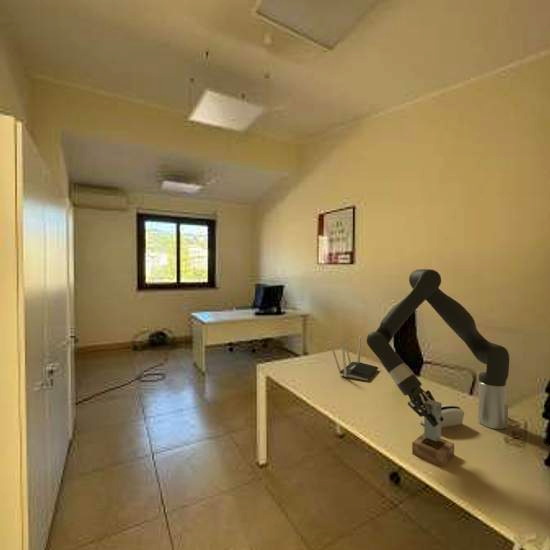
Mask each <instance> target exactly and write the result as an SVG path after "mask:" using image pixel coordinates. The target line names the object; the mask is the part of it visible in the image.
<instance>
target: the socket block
mask: <svg viewBox="0 0 550 550" xmlns="http://www.w3.org/2000/svg"><path fill="white" fill-rule="evenodd" d="M411 443H412V445H411V448H412V449H411V451H412V452H411V453H412V454H411V455H415V456H417V457H419V458H422V459H424V460H425V461H427V462H430V463H432V464H435V465H436V466H440V467H442V468H443V467H444V466H445V465H446V464H447V463H448V462H449V461H450V460H451V459H452V458H453V457H454V456H455V443H454V442H451V441H449V440H446V439H443V438H442V437H441V438H440V439H438V440H437V441H434V440H431V439H429V438H426V437H424V432H423V433H422V434H420V435H419V436H418V437H417V438H416V439H414V440H413V441H412V442H411Z"/></svg>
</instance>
